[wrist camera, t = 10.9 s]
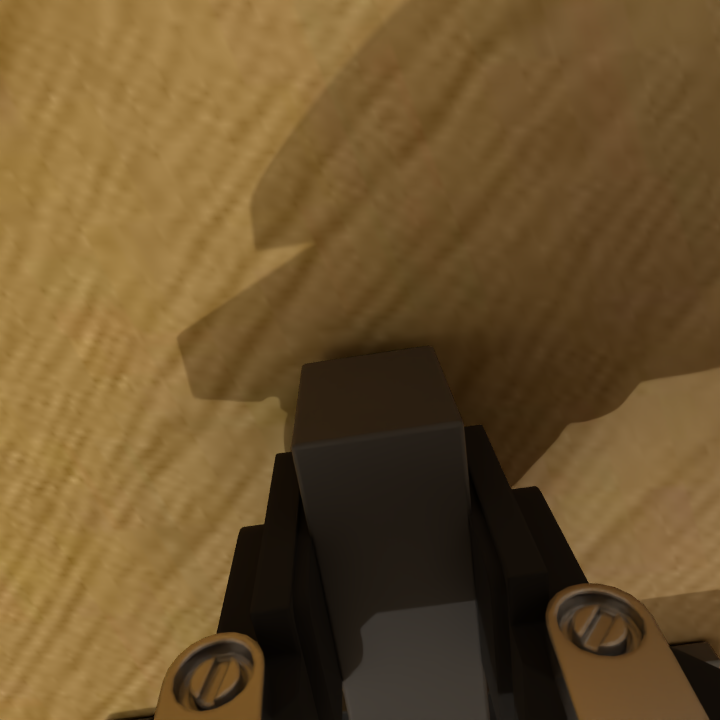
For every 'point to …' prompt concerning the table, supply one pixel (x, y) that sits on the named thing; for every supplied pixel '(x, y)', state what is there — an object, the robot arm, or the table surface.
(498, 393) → the table surface
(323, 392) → the knife
